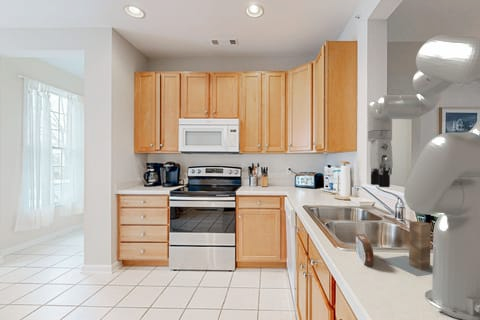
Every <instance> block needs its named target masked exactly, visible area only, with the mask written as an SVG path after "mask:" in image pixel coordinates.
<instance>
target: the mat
mask: <svg viewBox="0 0 480 320" xmlns="http://www.w3.org/2000/svg"><path fill="white" fill-rule="evenodd" d="M379 260H380V261H381V262H384V263H387V264H388V265H391V266H393V267H396V268H398V269H400V270H402V271H405V272H407V273H409V274H412V275H414V276H416V277H422V276H429V275H433V264H430V269H424V270H419V269H417V268H414V267H412V266H410V265H409V255H399V256H392V257H385V258H384V257H383V258H380V259H379Z"/></svg>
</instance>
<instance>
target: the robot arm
mask: <svg viewBox="0 0 480 320" xmlns="http://www.w3.org/2000/svg"><path fill="white" fill-rule="evenodd" d="M415 65H416V68H417V71H416V72H415V74H413V78H412V86H413V88H414V90H415V91H416V93H417V94H415V95H406V94H404V95H403V94H402V95H400V94H394V95H393V94H385V95H382V96H380V97H378V99H377V100H374V101H371V102H369V104H368V106H367V141H368V142H369V143H370V147H369V148H370V149H369V151H370V152H369V167H370V169H371V170H370V185H372V186H378V187H379V188H390V187H391V183H390V182H391V171H390V170H391V169H393V168H394V167H393V165H394V164H393V163H394V162H393V145H392V141H393V120H414V119H418V118H420V117H423V116H425V115H426V114H428V113H430V112H431V111H432V110H434V109H435V108H436V107H437V106H438V104H439V103H440V100H441V97H442V94H443V93H444V92H446V91H448V90H449V89H451V88H453V87H455V86H456V85H463V86H470V87H480V37H478V36H469V35H450V34H440V35H435V36H433V37H432V38H430V39H428V40H427V41H425V42H424V43H423V44H422V46H421V47H420V48H419V50H418V51H417V54H416V58H415ZM403 196H404V197H403V198H404V200H405V201H404V202H405V204H406V206H407V207H408V208H409V209H410V210H411V211H413V212H414V213H417V214H420V215H435V216H436V215H438V217H437V219H436V221H435V223H434V227H433V237H432V240H433V241H432V266H433V274H432V285H431V288H432V289H428V290H426V291H425V292H424V298H425V300H426V302H428V303H429V304H430V305H432V306H433V307H435V308H436V309H439V312H440V313H443V314H445V315H447V316H450V317H453V318H456V319H459V320H480V116H479V117H478V119H477V120H476V122H475V124H474V125H473V127H472V128H470V130H468V131H466V132H444V133H441V134H437V135H436V136H434V137H433V138H432V139H430V140H429V141H428V142H427V143H426V144H425V146H424V148H423V149H422V151H421V153H420V155H419V157H418V159H417V160H416V163H415V165H414V167H413V169H412V170H411V172H410V175H409V177H408V179H407V181H406V183H405V186H404V192H403Z"/></svg>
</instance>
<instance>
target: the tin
mask: <svg viewBox="0 0 480 320" xmlns="http://www.w3.org/2000/svg"><path fill="white" fill-rule="evenodd" d="M355 250H356V254H357V256H358V257H359V259H360V260H361V262H362V263H363V265H364V266H365V267H366V266H369V267H374V264H375V263H374V262H375V257H374V249H373V245H372V242H371V240H370V239H369V238H368V237H367V235H365V233H362V234H361V233H359V234H358V233H357V234H356V235H355Z"/></svg>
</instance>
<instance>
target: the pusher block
mask: <svg viewBox="0 0 480 320" xmlns="http://www.w3.org/2000/svg"><path fill="white" fill-rule="evenodd" d="M408 229H409V234H408V236H409V238H408V239H409V241H408V242H409V244H408V256H409V265H410V266H412V267H414V268H417V269H419V270H424V269H430V265H431V243H432V242H431V241H432V240H431V238H432V237H431V233H432V230H431V229H432V224H431V223H429V222H425V221H421V220H415V221H409V227H408Z"/></svg>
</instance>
